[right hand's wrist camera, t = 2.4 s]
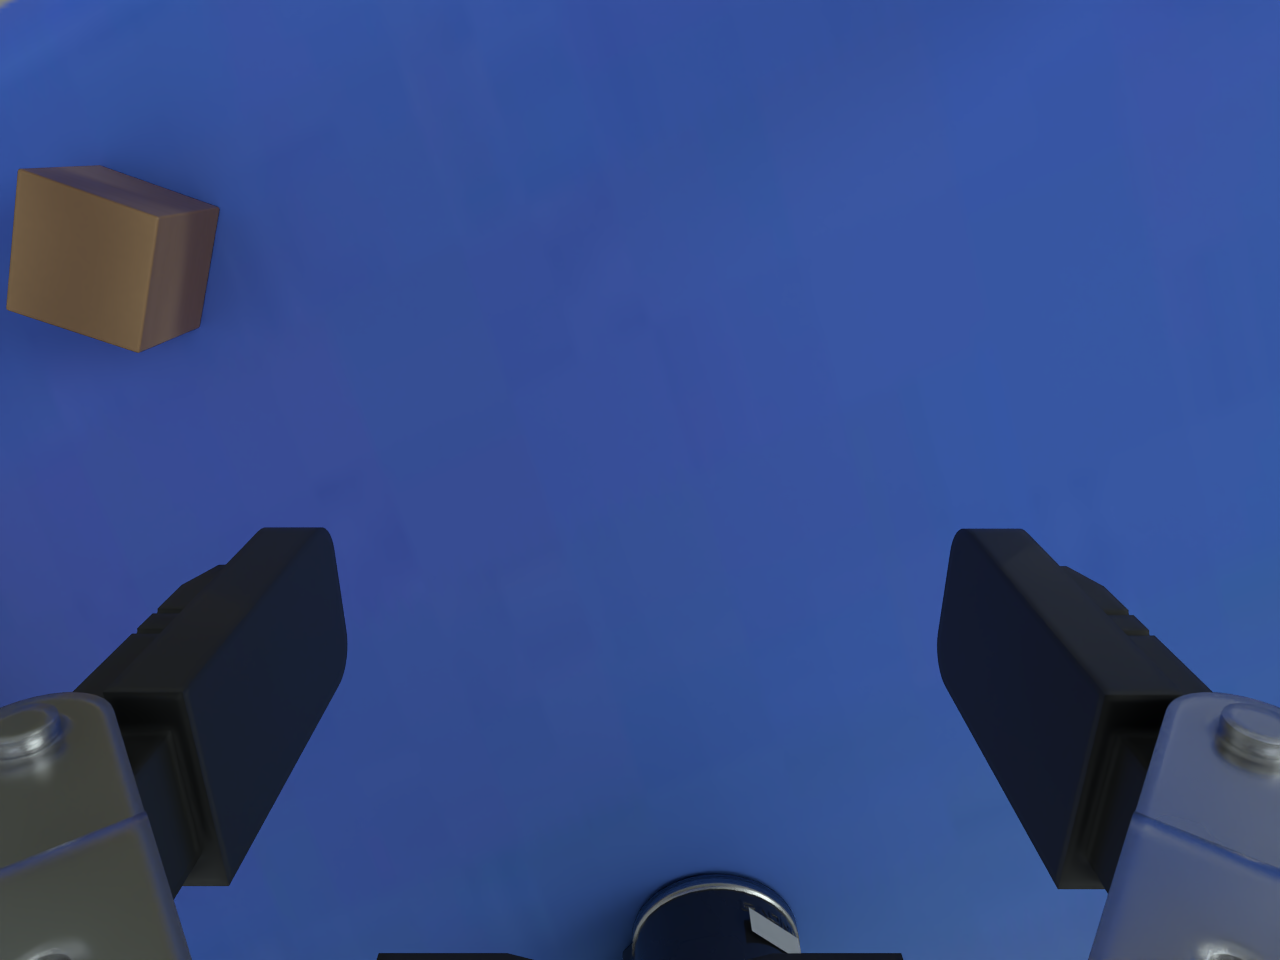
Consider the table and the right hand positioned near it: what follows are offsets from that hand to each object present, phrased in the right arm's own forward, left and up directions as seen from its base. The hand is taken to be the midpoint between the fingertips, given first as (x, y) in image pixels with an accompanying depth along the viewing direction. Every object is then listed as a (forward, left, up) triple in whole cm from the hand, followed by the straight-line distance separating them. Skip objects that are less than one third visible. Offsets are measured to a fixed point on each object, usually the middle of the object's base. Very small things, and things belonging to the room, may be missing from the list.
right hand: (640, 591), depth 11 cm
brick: (-12, +16, -26) cm, 33 cm away
